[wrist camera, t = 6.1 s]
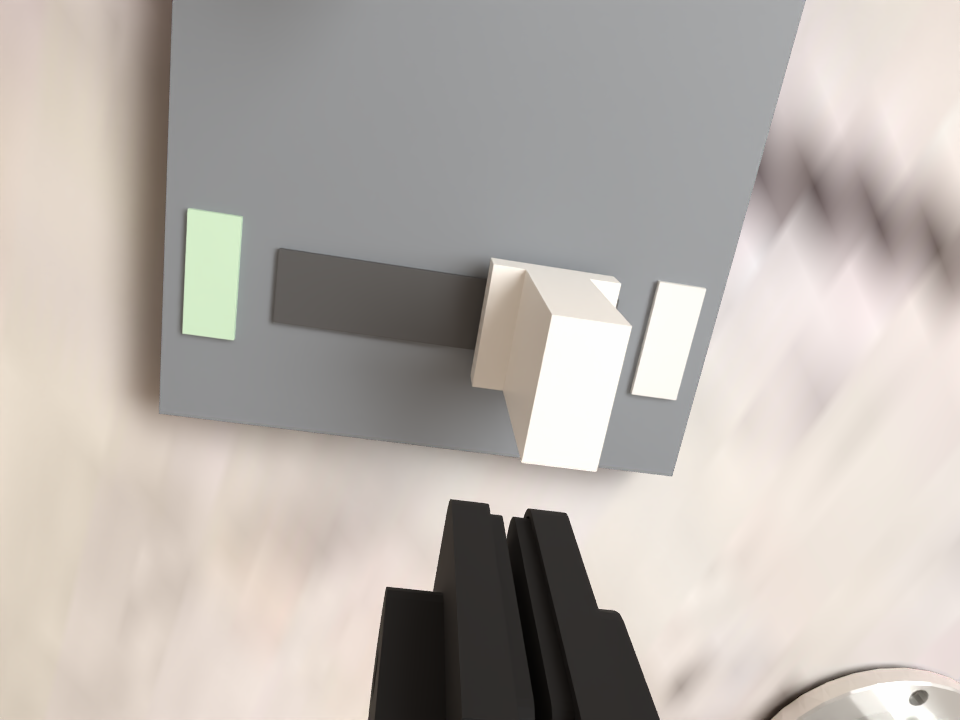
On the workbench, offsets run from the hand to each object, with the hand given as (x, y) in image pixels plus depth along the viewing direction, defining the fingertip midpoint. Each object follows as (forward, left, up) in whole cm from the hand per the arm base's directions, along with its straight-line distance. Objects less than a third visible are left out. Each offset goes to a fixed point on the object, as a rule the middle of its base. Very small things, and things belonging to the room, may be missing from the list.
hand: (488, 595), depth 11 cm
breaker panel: (+7, 0, -17) cm, 18 cm away
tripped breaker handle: (0, -3, -14) cm, 14 cm away
